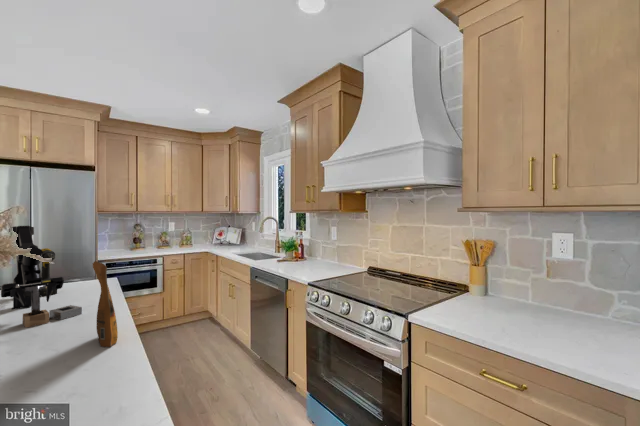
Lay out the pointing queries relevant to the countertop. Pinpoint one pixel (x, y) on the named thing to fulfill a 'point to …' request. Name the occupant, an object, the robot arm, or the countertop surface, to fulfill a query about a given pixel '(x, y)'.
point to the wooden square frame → (35, 318)
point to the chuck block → (65, 312)
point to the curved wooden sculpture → (105, 310)
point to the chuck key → (35, 298)
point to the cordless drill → (47, 270)
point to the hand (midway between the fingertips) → (36, 303)
